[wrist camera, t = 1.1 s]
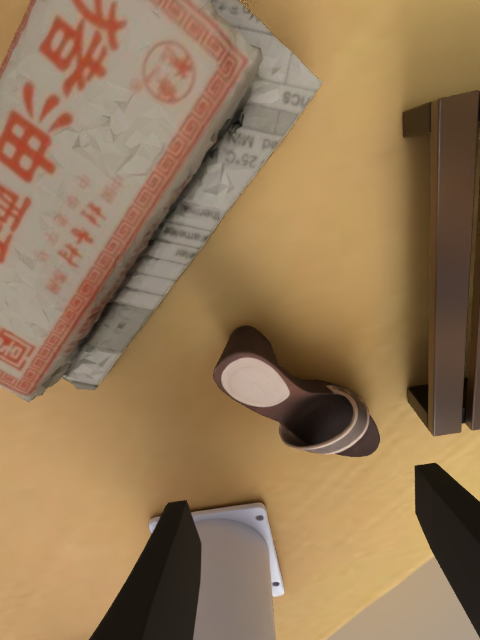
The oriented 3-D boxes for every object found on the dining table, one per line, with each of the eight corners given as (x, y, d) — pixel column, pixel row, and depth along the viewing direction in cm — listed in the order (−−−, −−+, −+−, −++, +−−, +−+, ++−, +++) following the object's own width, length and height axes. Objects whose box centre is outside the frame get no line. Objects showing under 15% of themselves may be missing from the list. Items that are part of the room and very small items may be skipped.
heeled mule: (329, 459, 22) (346, 513, 19) (196, 353, 20) (186, 394, 16) (385, 417, 21) (415, 466, 18) (252, 297, 18) (255, 327, 15)
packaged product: (62, 442, 16) (-178, 312, 13) (101, 382, 20) (-73, 277, 18) (352, 55, 10) (34, -280, 8) (318, 90, 15) (108, -117, 12)
